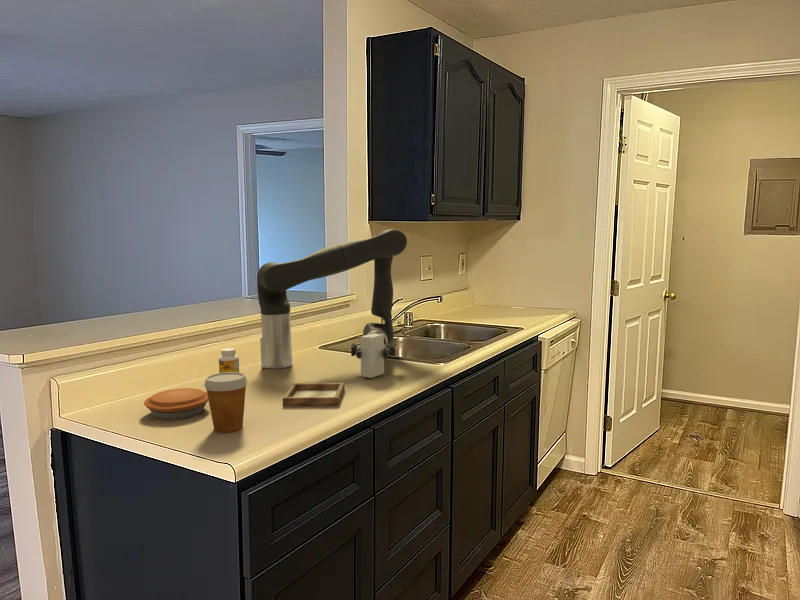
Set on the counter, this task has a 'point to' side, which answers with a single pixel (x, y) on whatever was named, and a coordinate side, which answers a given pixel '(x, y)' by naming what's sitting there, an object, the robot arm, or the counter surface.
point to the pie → (177, 403)
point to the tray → (313, 394)
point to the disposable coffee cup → (226, 400)
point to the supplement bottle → (228, 361)
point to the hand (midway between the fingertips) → (371, 355)
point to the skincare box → (372, 355)
